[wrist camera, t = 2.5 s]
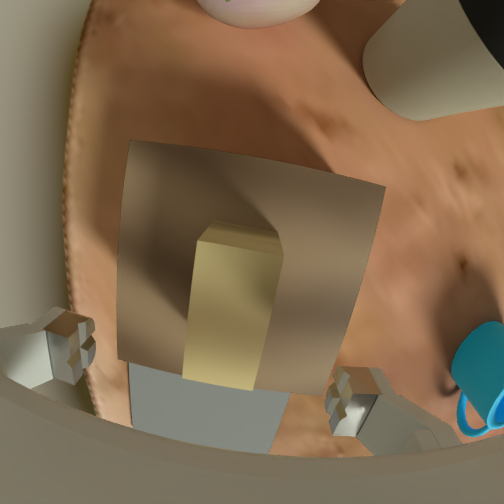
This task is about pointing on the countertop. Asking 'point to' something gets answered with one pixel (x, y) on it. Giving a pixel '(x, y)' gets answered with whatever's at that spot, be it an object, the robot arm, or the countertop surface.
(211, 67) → the countertop surface
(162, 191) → the lid
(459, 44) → the travel mug
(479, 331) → the mug
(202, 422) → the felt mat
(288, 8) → the decorative fruit
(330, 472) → the robot arm
